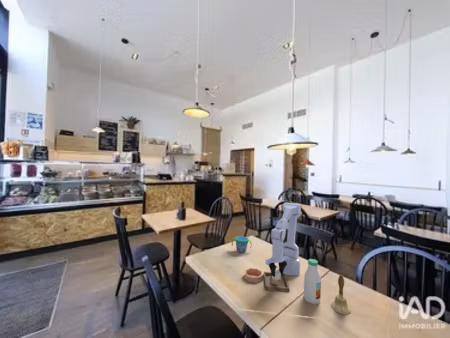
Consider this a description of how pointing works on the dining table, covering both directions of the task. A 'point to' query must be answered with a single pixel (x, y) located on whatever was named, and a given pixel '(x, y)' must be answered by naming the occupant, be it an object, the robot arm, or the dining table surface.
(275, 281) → the beige block
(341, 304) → the hand bell
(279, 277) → the white block
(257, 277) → the terracotta bowl
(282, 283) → the walnut tray
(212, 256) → the dining table surface
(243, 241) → the snack cup
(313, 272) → the milk bottle
